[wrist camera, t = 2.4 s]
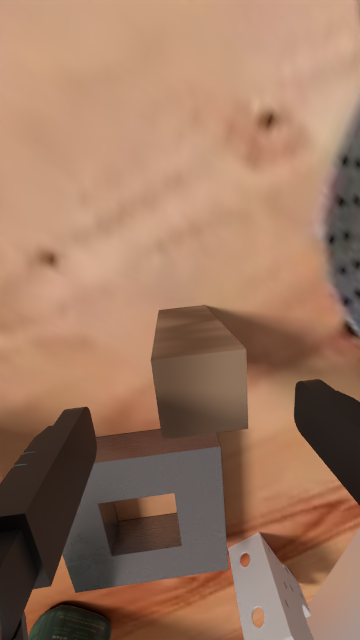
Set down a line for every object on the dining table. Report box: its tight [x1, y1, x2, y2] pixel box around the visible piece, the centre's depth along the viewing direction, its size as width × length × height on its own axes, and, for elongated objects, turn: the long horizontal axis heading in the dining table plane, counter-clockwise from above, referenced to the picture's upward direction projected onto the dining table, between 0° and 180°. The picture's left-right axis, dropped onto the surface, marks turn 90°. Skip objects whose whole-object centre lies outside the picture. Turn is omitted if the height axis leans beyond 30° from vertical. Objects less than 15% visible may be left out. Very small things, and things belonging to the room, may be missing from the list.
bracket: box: [228, 532, 314, 640], centre depth 23 cm, size 11×4×10 cm, turn 33°
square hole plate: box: [62, 429, 228, 593], centre depth 22 cm, size 16×16×3 cm
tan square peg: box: [151, 305, 248, 440], centre depth 14 cm, size 4×4×10 cm
